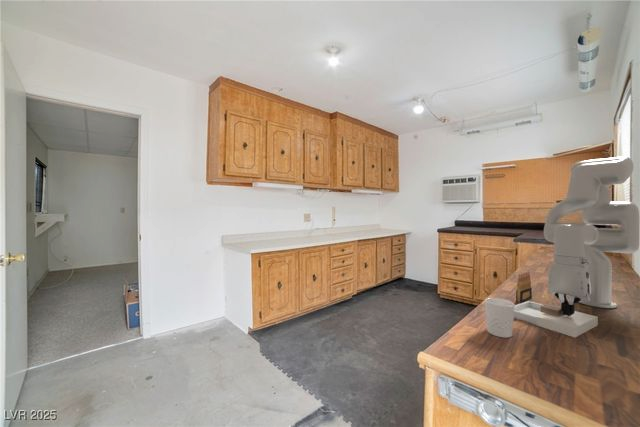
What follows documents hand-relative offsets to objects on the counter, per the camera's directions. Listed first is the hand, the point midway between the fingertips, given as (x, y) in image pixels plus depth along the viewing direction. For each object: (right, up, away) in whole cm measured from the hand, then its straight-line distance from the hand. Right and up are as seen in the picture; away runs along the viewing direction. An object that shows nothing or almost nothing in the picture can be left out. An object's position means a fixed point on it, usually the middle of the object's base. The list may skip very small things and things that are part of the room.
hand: (567, 314), depth 91 cm
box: (-5, -4, +9) cm, 11 cm away
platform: (0, -4, 0) cm, 4 cm away
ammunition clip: (+5, -4, +25) cm, 26 cm away
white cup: (-27, -4, -5) cm, 27 cm away
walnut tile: (-2, -1, +4) cm, 4 cm away
